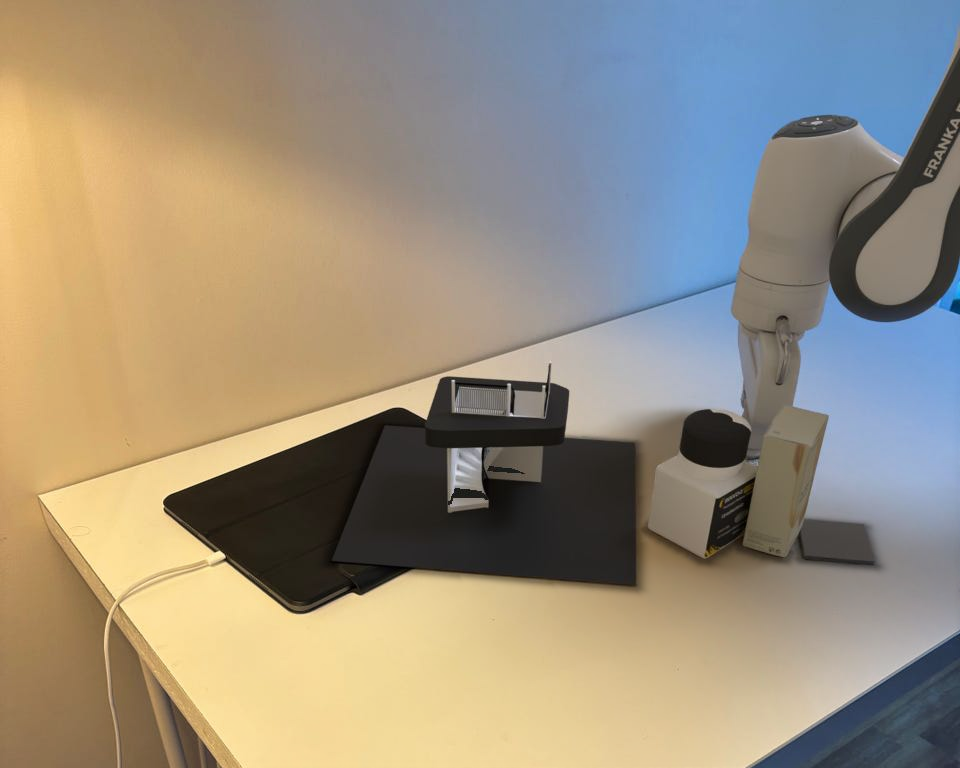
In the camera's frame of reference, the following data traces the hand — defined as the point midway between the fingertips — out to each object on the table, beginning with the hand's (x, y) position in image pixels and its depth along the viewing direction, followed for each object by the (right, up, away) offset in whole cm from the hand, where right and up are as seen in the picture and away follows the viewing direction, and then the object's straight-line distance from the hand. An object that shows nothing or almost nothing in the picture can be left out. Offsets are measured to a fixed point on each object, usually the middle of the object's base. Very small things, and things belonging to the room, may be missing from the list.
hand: (751, 425), depth 106 cm
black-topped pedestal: (-28, -9, -6) cm, 30 cm away
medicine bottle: (-8, -13, -10) cm, 18 cm away
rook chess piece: (0, -2, +2) cm, 3 cm away
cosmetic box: (-1, -13, -11) cm, 17 cm away
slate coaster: (+5, -14, -12) cm, 19 cm away
